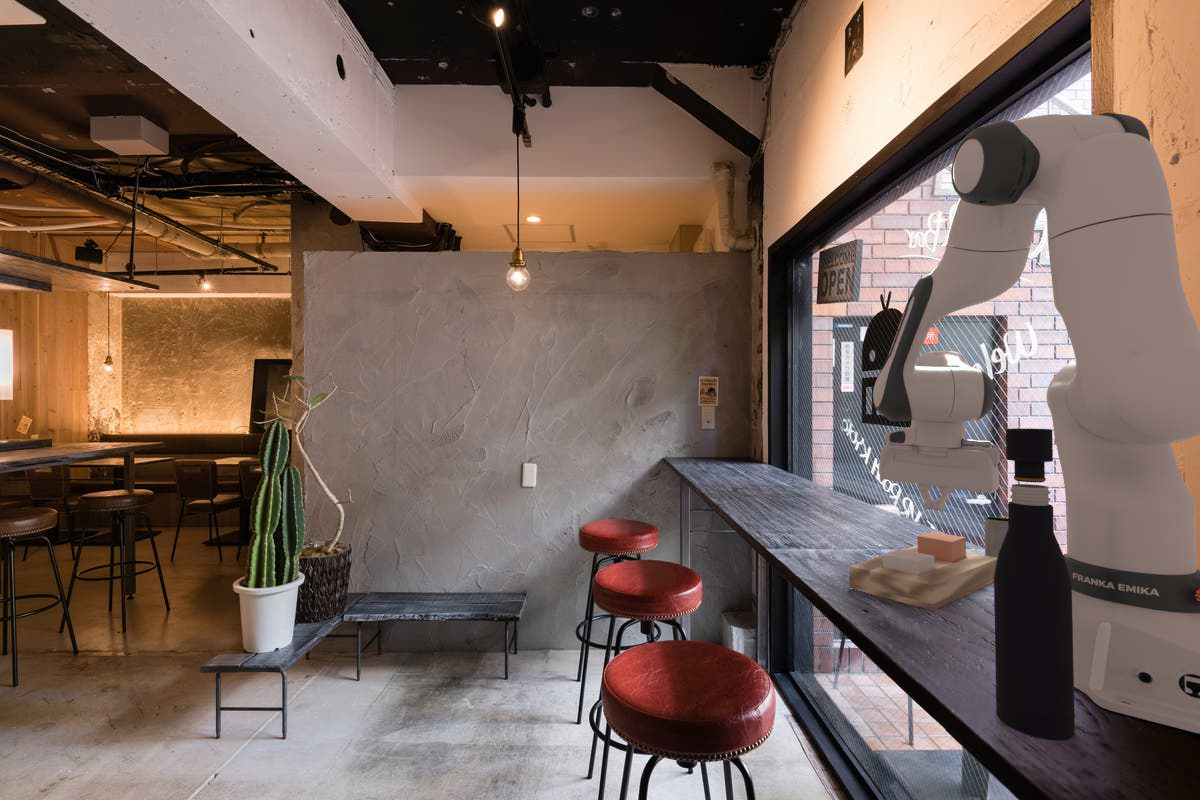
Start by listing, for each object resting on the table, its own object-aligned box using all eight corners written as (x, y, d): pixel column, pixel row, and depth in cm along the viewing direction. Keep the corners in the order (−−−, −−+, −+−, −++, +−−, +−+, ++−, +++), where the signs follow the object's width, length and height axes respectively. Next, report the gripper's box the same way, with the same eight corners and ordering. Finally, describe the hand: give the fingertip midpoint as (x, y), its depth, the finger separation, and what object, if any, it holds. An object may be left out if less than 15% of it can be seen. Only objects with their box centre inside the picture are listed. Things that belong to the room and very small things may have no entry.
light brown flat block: (999, 579, 107) (998, 557, 107) (933, 610, 91) (932, 585, 91) (920, 563, 118) (920, 544, 119) (849, 588, 102) (849, 566, 102)
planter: (979, 569, 114) (978, 517, 114) (996, 567, 115) (995, 515, 115) (1001, 575, 110) (1000, 521, 110) (1019, 573, 111) (1018, 520, 111)
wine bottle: (1066, 748, 54) (1059, 430, 55) (987, 720, 59) (982, 429, 60) (1082, 724, 58) (1075, 428, 59) (1007, 699, 63) (1002, 427, 64)
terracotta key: (966, 558, 108) (965, 537, 108) (952, 563, 105) (951, 541, 105) (932, 552, 113) (931, 531, 113) (917, 557, 109) (917, 536, 109)
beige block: (934, 578, 100) (934, 555, 100) (918, 585, 97) (917, 561, 97) (899, 571, 105) (899, 549, 105) (883, 577, 102) (882, 554, 102)
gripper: (1007, 441, 103) (1003, 518, 103) (891, 433, 119) (888, 499, 119) (993, 442, 99) (990, 522, 99) (876, 433, 115) (873, 502, 115)
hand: (934, 509), depth 109 cm, fingers closed
